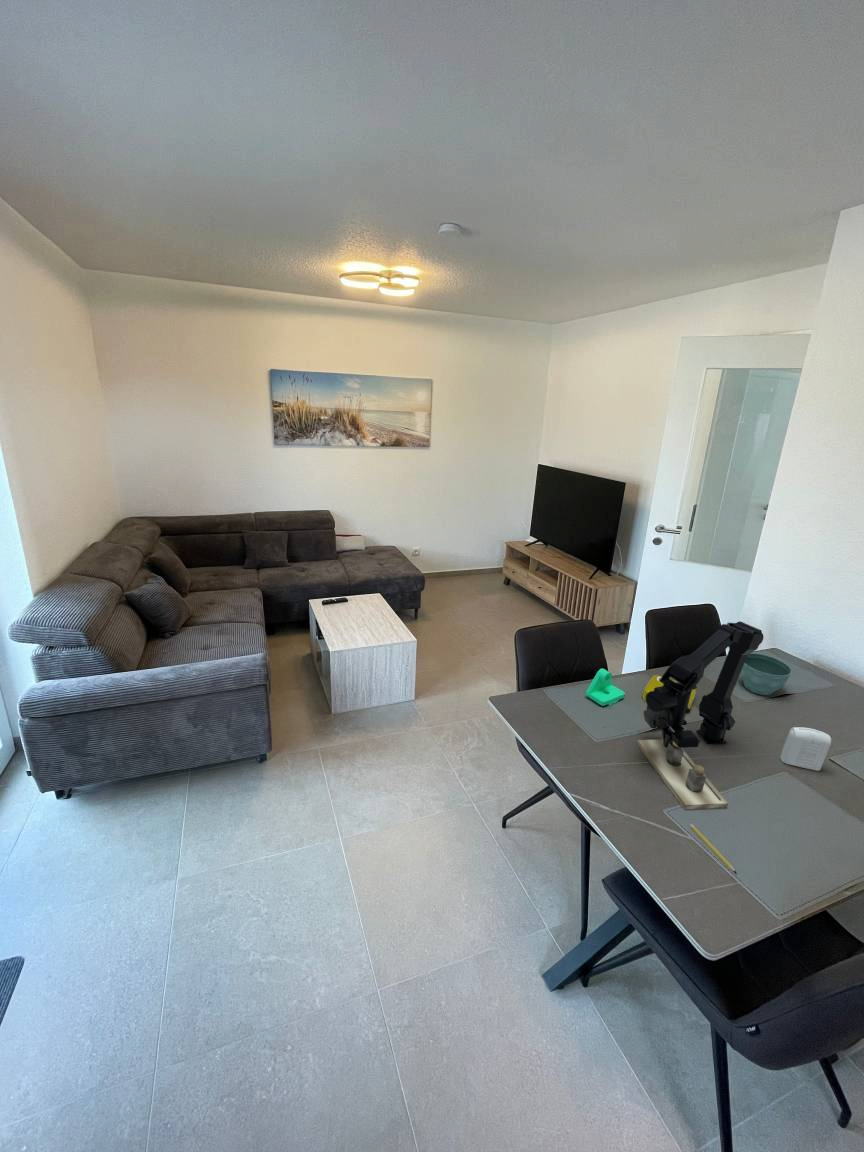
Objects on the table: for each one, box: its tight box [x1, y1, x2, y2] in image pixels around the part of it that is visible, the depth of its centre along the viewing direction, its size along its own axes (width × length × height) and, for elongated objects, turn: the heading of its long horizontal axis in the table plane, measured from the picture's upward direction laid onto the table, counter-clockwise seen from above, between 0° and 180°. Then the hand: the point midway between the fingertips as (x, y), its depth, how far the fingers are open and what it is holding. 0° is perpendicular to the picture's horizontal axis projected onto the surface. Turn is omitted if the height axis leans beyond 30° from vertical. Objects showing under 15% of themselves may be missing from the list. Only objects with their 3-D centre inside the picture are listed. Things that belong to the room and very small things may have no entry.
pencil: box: [688, 823, 738, 874], centre depth 120 cm, size 1×14×1 cm, turn 17°
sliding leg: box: [665, 741, 685, 764], centre depth 145 cm, size 3×3×7 cm
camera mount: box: [585, 668, 626, 706], centre depth 177 cm, size 12×8×10 cm, turn 122°
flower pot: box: [740, 652, 793, 696], centre depth 187 cm, size 16×16×11 cm
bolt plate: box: [636, 738, 729, 811], centre depth 142 cm, size 12×26×8 cm, turn 6°
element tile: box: [642, 674, 697, 715], centre depth 180 cm, size 15×15×5 cm
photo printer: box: [779, 726, 832, 772], centre depth 148 cm, size 10×4×12 cm, turn 73°
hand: (665, 746), depth 150 cm, fingers closed
